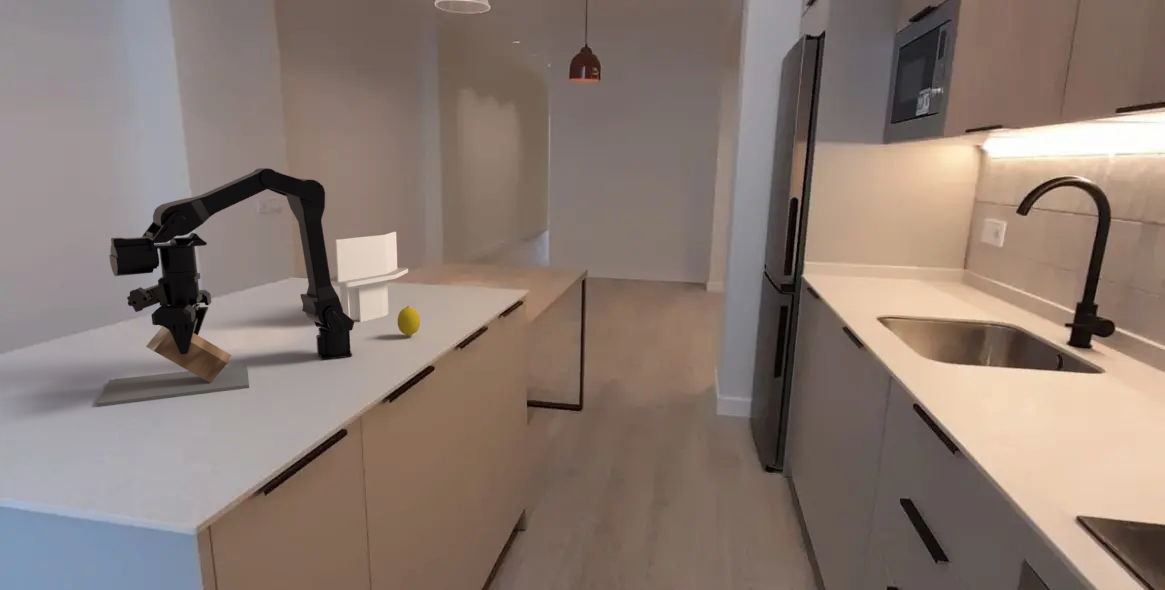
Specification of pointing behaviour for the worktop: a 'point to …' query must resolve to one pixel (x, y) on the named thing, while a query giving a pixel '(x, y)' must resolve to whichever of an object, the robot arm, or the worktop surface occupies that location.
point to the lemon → (408, 321)
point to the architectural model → (366, 274)
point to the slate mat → (171, 385)
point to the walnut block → (191, 354)
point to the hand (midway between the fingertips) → (187, 349)
